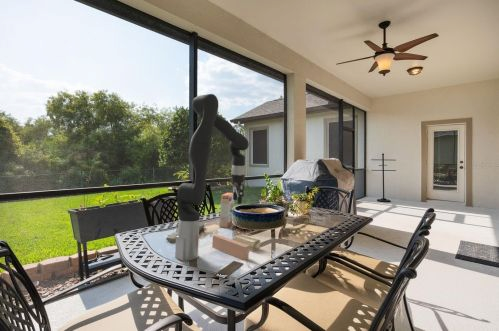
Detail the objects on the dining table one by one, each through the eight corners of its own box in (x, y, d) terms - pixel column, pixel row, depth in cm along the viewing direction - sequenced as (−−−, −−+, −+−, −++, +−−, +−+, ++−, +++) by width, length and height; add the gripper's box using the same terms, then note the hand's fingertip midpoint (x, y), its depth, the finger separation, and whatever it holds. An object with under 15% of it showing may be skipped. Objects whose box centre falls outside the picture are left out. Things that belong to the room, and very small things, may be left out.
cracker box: (228, 228, 176) (229, 195, 175) (218, 227, 177) (220, 194, 176) (233, 223, 189) (235, 192, 188) (225, 222, 191) (226, 192, 190)
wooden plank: (224, 276, 105) (213, 273, 107) (224, 280, 105) (213, 276, 107) (243, 263, 120) (233, 260, 122) (243, 266, 120) (232, 263, 122)
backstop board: (243, 260, 124) (244, 247, 124) (212, 247, 139) (212, 235, 139) (248, 258, 126) (249, 245, 126) (216, 245, 141) (217, 234, 141)
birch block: (251, 252, 136) (252, 242, 136) (234, 245, 144) (235, 236, 144) (259, 249, 140) (260, 239, 140) (242, 243, 148) (243, 234, 148)
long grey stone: (160, 244, 144) (177, 248, 141) (161, 234, 143) (178, 238, 140) (193, 225, 177) (207, 228, 174) (194, 217, 176) (208, 220, 174)
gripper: (228, 171, 159) (227, 199, 161) (235, 175, 146) (234, 205, 148) (240, 171, 162) (239, 198, 164) (248, 175, 148) (247, 204, 150)
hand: (237, 201), depth 156 cm, fingers open, 8 cm apart
